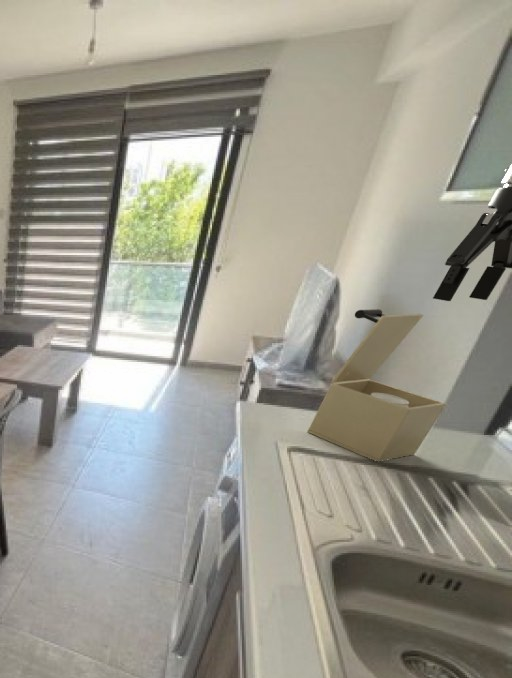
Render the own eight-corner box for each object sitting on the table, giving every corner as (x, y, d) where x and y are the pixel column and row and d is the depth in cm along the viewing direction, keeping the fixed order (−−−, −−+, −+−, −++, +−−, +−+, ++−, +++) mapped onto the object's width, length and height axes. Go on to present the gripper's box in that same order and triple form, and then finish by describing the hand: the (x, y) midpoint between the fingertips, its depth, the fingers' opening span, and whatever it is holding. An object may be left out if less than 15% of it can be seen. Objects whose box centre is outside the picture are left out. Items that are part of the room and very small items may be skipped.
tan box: (414, 454, 119) (447, 403, 112) (377, 462, 114) (409, 409, 107) (342, 426, 132) (368, 379, 126) (307, 431, 128) (331, 383, 121)
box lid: (423, 315, 114) (390, 301, 120) (385, 317, 109) (352, 302, 115) (370, 378, 125) (342, 363, 131) (333, 382, 120) (306, 366, 126)
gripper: (533, 190, 100) (470, 294, 110) (464, 182, 92) (404, 296, 102) (586, 191, 94) (514, 301, 104) (518, 183, 86) (448, 304, 96)
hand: (459, 299), depth 103 cm, fingers open, 13 cm apart
